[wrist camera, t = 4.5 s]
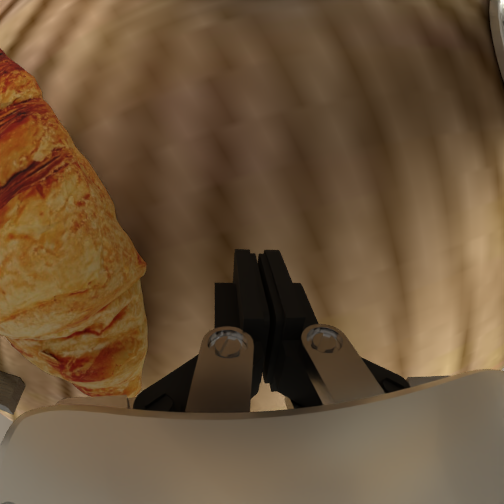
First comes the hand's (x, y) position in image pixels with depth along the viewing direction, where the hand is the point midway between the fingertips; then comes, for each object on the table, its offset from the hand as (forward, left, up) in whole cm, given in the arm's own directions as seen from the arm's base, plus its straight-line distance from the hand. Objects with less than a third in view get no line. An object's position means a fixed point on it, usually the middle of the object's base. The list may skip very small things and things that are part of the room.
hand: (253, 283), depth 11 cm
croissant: (+10, 0, -3) cm, 10 cm away
